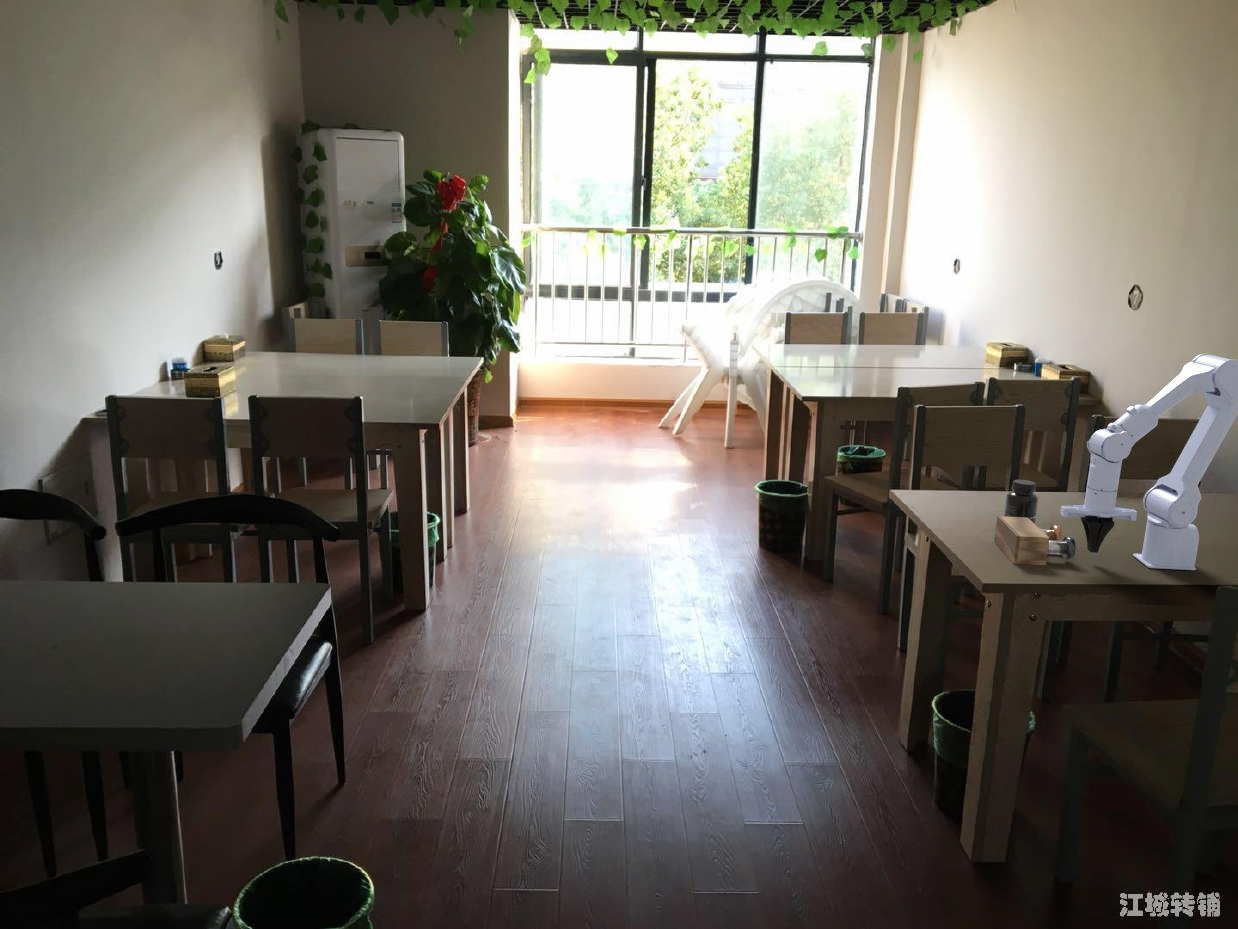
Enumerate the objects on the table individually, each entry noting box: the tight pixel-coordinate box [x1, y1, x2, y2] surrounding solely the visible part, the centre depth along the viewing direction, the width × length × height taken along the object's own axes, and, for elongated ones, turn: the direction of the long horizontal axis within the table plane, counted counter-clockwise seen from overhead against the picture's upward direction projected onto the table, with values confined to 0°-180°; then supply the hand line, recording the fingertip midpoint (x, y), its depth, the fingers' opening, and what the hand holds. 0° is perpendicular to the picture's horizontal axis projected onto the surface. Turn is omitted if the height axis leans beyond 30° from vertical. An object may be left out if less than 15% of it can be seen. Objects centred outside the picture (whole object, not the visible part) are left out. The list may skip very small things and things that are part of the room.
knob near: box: [1047, 536, 1077, 560], centre depth 206 cm, size 7×5×5 cm
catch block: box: [993, 515, 1049, 566], centre depth 210 cm, size 6×14×6 cm, turn 175°
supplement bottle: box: [1003, 479, 1039, 525], centre depth 224 cm, size 7×7×12 cm
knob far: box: [1040, 525, 1063, 541], centre depth 214 cm, size 7×5×5 cm
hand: (1092, 551), depth 205 cm, fingers closed
